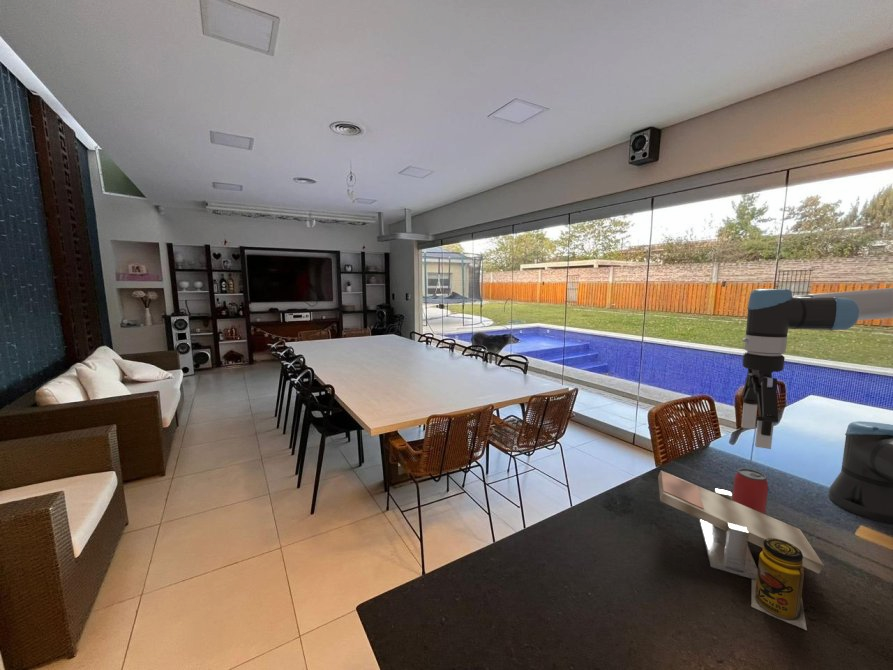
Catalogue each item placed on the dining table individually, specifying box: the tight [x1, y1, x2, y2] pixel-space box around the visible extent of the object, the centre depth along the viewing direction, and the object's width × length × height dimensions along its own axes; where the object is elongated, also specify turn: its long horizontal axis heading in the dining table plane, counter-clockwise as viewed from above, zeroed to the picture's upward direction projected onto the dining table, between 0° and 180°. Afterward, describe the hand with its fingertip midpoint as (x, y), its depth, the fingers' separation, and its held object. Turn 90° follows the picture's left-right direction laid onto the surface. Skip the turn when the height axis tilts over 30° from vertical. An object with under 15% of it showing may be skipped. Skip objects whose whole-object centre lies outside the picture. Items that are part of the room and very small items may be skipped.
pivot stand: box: [698, 488, 758, 581], centre depth 81 cm, size 8×17×10 cm, turn 152°
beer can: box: [732, 468, 769, 515], centre depth 92 cm, size 7×7×12 cm
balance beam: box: [657, 469, 825, 574], centre depth 81 cm, size 28×12×2 cm, turn 62°
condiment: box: [750, 538, 808, 631], centre depth 67 cm, size 7×8×12 cm
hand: (754, 437), depth 90 cm, fingers open, 13 cm apart
